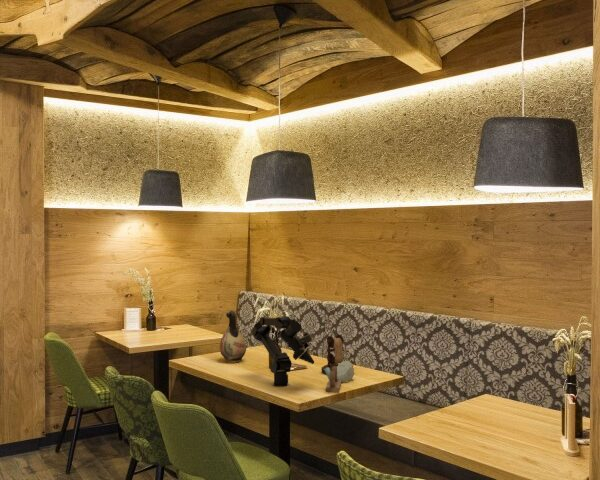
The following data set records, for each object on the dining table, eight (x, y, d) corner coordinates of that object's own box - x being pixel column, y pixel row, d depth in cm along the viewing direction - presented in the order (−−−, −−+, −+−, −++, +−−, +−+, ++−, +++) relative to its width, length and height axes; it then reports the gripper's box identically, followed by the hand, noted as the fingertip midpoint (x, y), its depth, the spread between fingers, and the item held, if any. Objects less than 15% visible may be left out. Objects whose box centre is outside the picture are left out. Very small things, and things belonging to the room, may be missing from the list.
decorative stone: (348, 376, 317) (337, 361, 316) (361, 372, 309) (350, 357, 308) (335, 393, 308) (323, 377, 307) (348, 389, 300) (336, 373, 299)
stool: (325, 392, 285) (325, 372, 285) (328, 385, 299) (328, 365, 299) (338, 393, 284) (338, 372, 284) (341, 385, 298) (341, 366, 298)
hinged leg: (330, 383, 291) (323, 369, 291) (330, 382, 293) (324, 368, 293) (334, 381, 290) (328, 367, 291) (335, 380, 293) (328, 366, 293)
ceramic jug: (217, 359, 361) (217, 308, 360) (243, 357, 365) (243, 307, 365) (222, 365, 344) (222, 312, 344) (249, 363, 349) (249, 311, 349)
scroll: (335, 377, 316) (335, 338, 315) (315, 372, 327) (315, 335, 326) (354, 373, 325) (354, 335, 325) (335, 368, 336) (335, 332, 336)
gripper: (299, 331, 284) (323, 355, 283) (305, 325, 303) (327, 348, 301) (283, 347, 286) (306, 371, 284) (289, 340, 304) (311, 363, 302)
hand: (313, 363), depth 293 cm, fingers closed
